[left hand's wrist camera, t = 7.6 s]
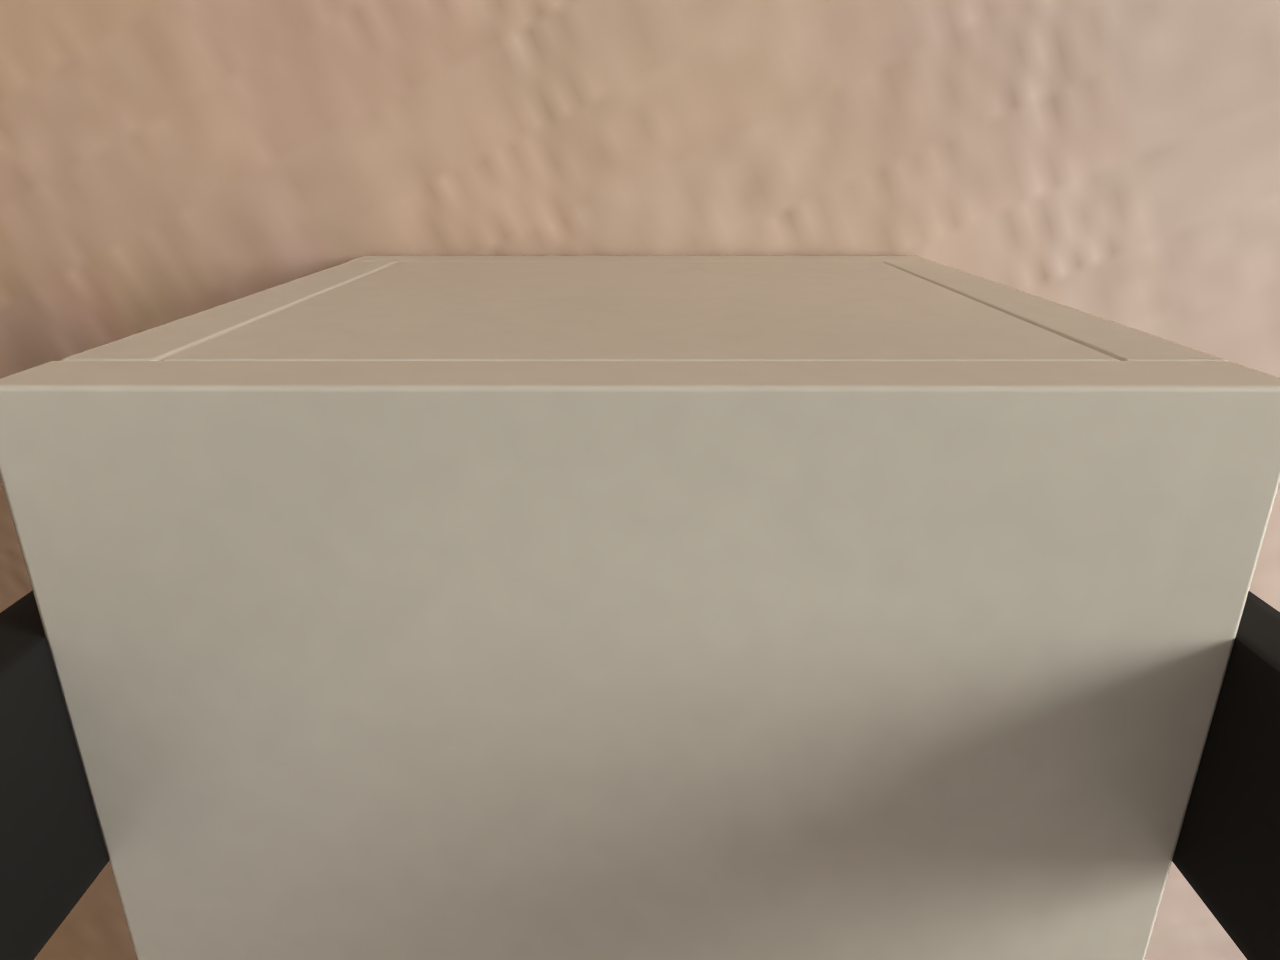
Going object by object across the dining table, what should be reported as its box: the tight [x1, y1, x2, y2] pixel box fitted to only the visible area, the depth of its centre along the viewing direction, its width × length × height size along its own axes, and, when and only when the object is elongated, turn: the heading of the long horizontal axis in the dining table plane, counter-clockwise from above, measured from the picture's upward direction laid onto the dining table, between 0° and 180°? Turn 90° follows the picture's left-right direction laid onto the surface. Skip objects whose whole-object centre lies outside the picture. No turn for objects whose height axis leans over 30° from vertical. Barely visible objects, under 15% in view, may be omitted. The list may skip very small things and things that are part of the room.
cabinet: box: [0, 256, 1280, 960], centre depth 15 cm, size 19×11×11 cm, turn 0°
